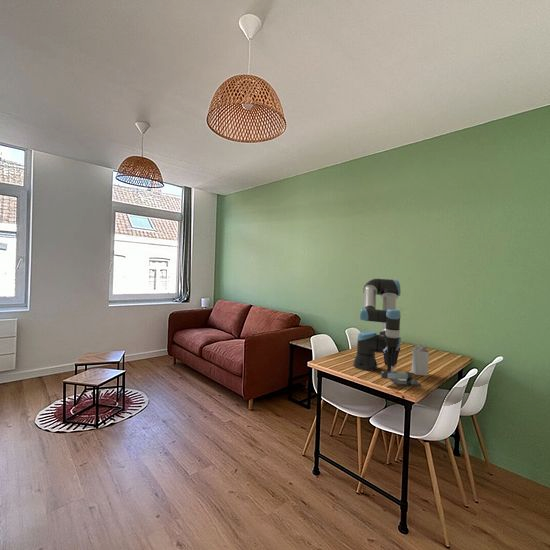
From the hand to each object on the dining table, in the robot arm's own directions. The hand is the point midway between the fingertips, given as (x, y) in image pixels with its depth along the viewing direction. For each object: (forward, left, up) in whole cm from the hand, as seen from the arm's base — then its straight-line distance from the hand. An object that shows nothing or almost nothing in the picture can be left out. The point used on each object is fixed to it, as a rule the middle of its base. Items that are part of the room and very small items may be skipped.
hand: (389, 377), depth 168 cm
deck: (-3, +9, -3) cm, 10 cm away
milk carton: (-15, +28, -3) cm, 32 cm away
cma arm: (+3, +2, +1) cm, 4 cm away
